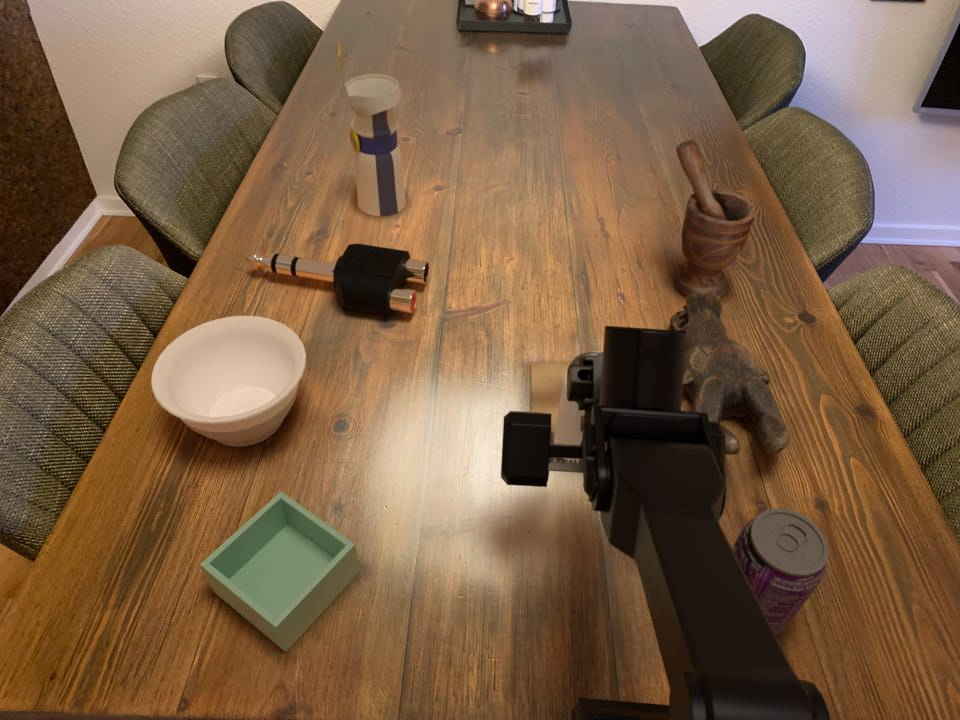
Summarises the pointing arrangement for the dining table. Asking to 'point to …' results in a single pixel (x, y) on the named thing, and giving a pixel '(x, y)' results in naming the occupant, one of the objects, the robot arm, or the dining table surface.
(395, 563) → the dining table surface
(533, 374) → the board
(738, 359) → the sculpture
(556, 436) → the can
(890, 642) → the dining table surface
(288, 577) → the tote
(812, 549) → the beverage can
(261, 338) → the bowl
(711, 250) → the mortar and pestle
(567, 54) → the dining table surface
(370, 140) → the water bottle
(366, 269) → the audio adapter
